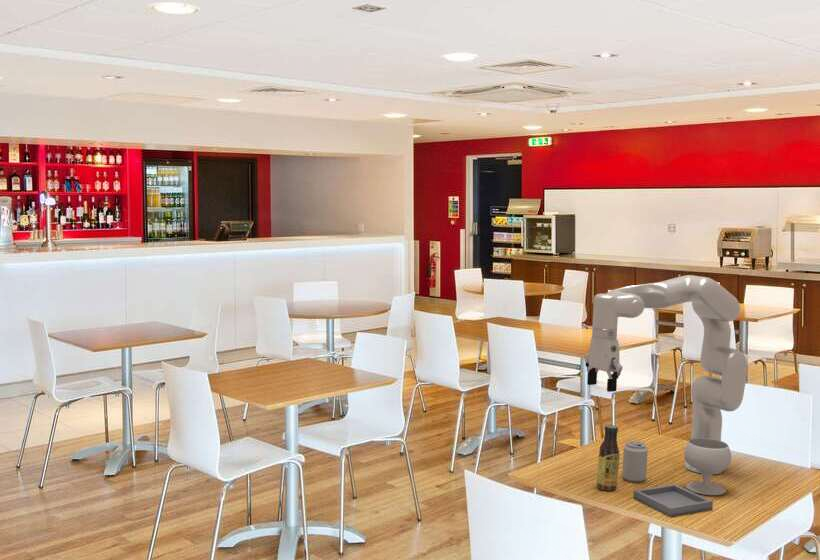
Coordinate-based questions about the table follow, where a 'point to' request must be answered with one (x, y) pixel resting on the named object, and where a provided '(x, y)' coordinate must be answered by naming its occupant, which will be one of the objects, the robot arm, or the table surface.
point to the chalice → (707, 463)
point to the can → (634, 461)
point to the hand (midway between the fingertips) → (601, 387)
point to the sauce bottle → (608, 460)
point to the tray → (672, 500)
